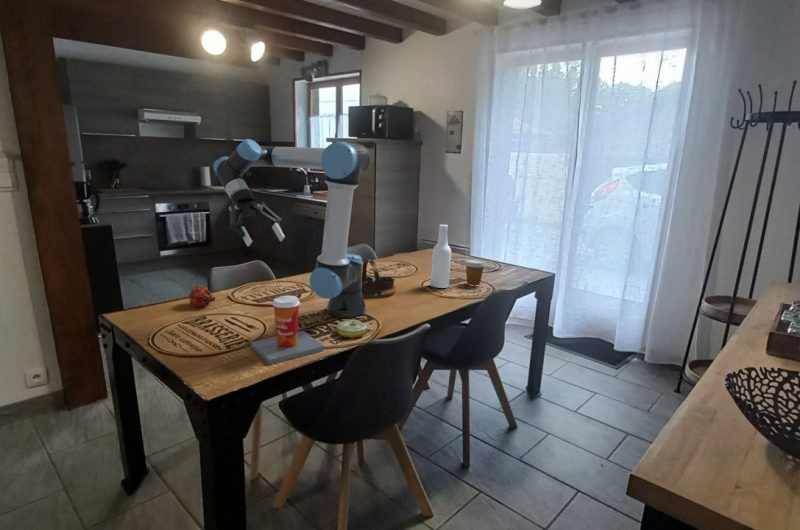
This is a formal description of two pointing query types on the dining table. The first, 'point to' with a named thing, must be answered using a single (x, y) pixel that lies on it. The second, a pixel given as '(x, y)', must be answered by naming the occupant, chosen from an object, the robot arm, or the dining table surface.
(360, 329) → the decorated donut
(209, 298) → the dragon fruit
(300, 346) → the slate board
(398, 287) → the dining table surface
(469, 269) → the disposable coffee cup
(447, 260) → the alcohol
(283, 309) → the coffee cup
